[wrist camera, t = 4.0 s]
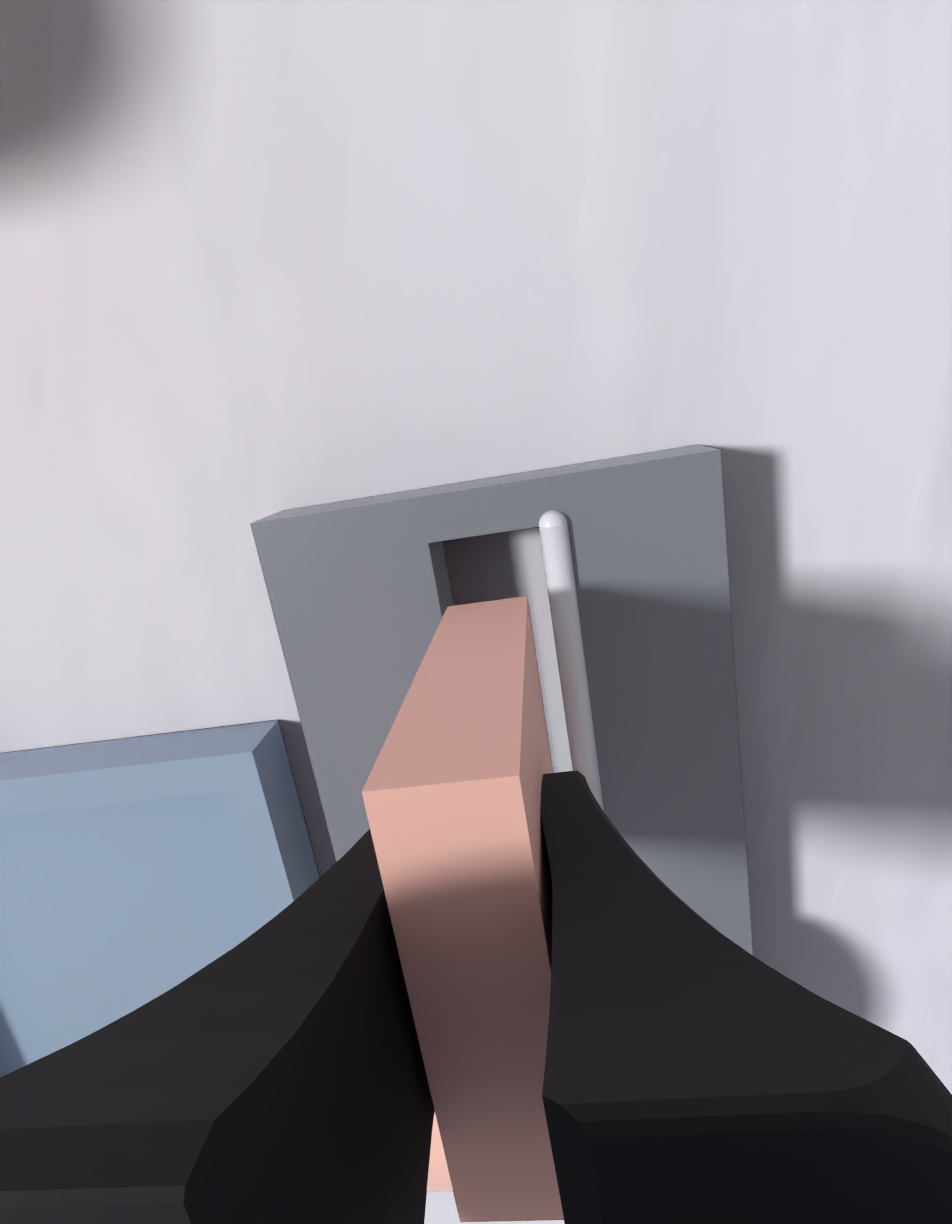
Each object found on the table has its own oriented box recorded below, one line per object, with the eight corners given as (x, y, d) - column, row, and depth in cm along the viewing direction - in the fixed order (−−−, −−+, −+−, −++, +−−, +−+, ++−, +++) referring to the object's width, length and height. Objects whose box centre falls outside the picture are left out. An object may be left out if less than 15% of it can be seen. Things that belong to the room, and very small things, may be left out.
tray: (374, 1086, 22) (361, 1143, 20) (10, 1104, 24) (-31, 1159, 22) (278, 719, 18) (252, 751, 17) (-142, 770, 20) (-205, 804, 18)
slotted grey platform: (741, 1054, 20) (805, 1251, 16) (417, 1071, 22) (384, 1258, 17) (697, 444, 16) (769, 460, 11) (282, 510, 17) (183, 550, 12)
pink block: (565, 858, 15) (589, 1218, 8) (493, 864, 15) (459, 1221, 8) (527, 595, 13) (518, 775, 7) (447, 606, 14) (361, 792, 7)
